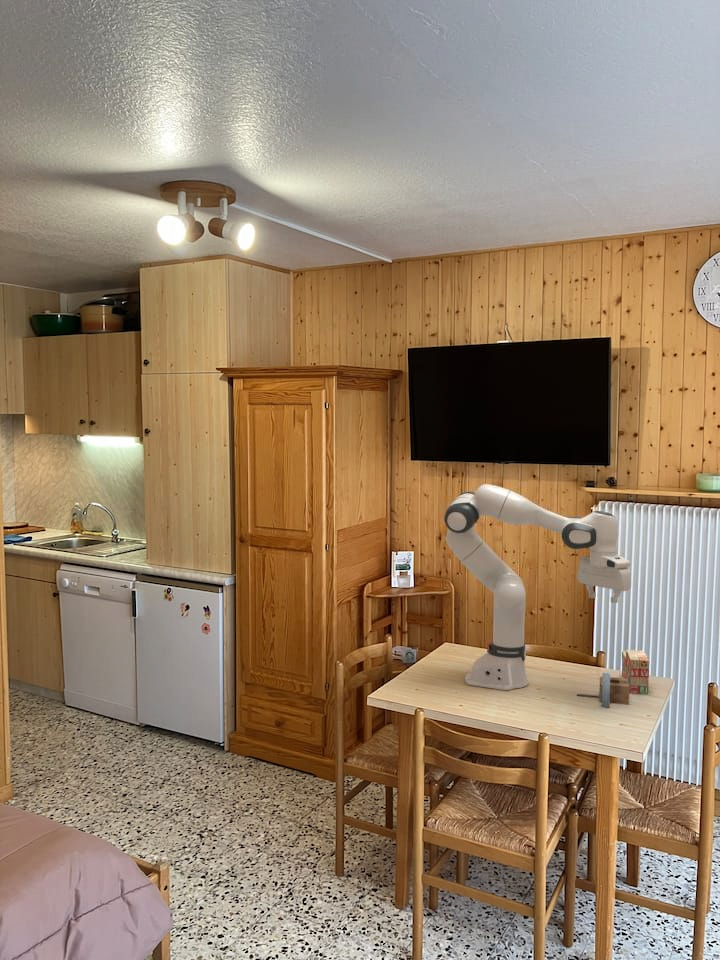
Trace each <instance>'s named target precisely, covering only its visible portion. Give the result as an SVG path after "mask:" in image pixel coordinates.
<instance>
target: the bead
mask: <svg viewBox="0 0 720 960" xmlns="http://www.w3.org/2000/svg"><path fill="white" fill-rule="evenodd" d="M599 700H600V701H599V702H600V703H602V676H601V675H600V676H599ZM618 703H619V704H620V705H621V704H622V705H629V704H630V693H629V684H628V680H627V678H623V677H612V676H610V704H618Z"/></svg>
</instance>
